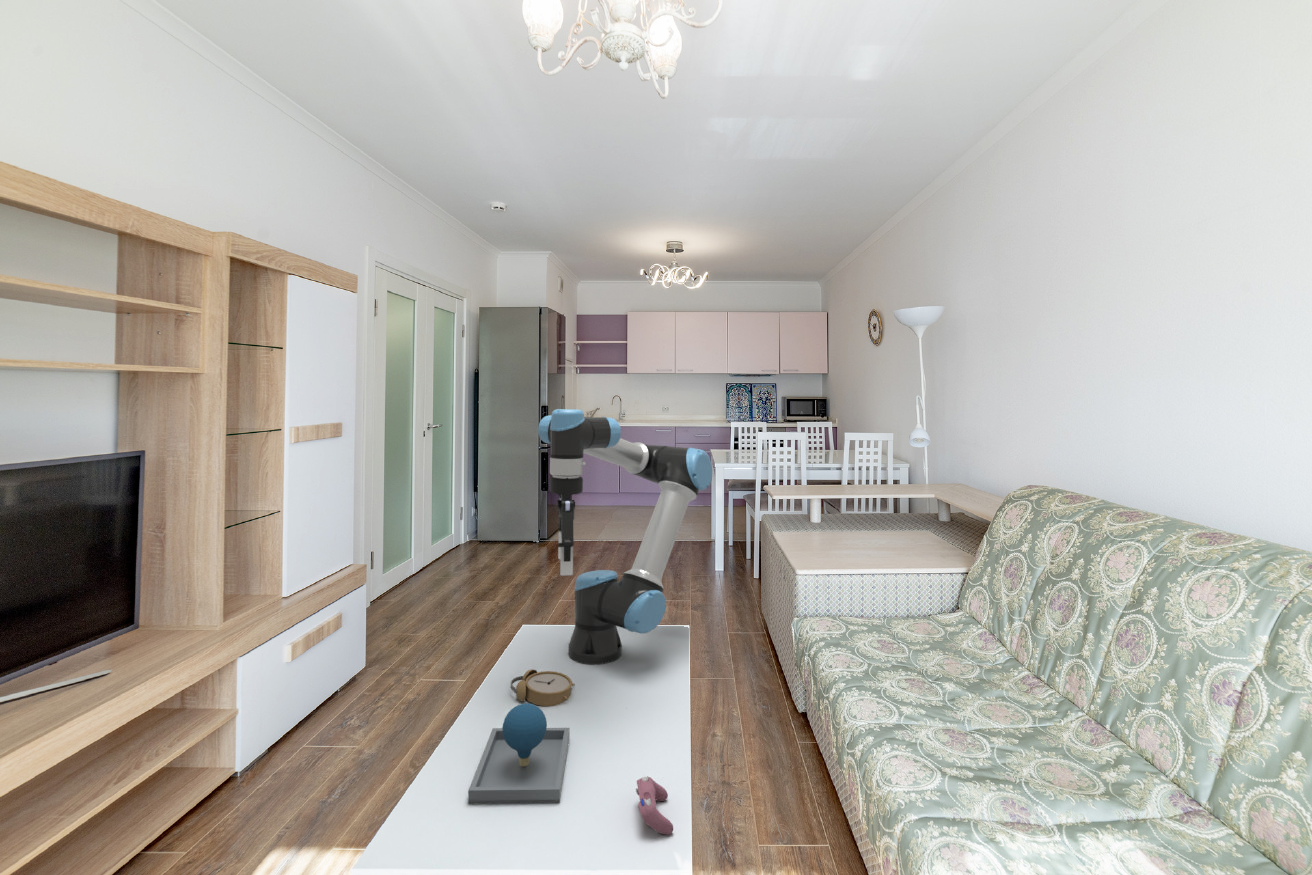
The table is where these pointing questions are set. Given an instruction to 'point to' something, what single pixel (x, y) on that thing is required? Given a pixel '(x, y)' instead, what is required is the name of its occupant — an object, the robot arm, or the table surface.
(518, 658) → the table surface
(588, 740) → the table surface
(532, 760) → the tray
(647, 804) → the video game controller
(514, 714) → the light bulb
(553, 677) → the alarm clock
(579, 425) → the robot arm
